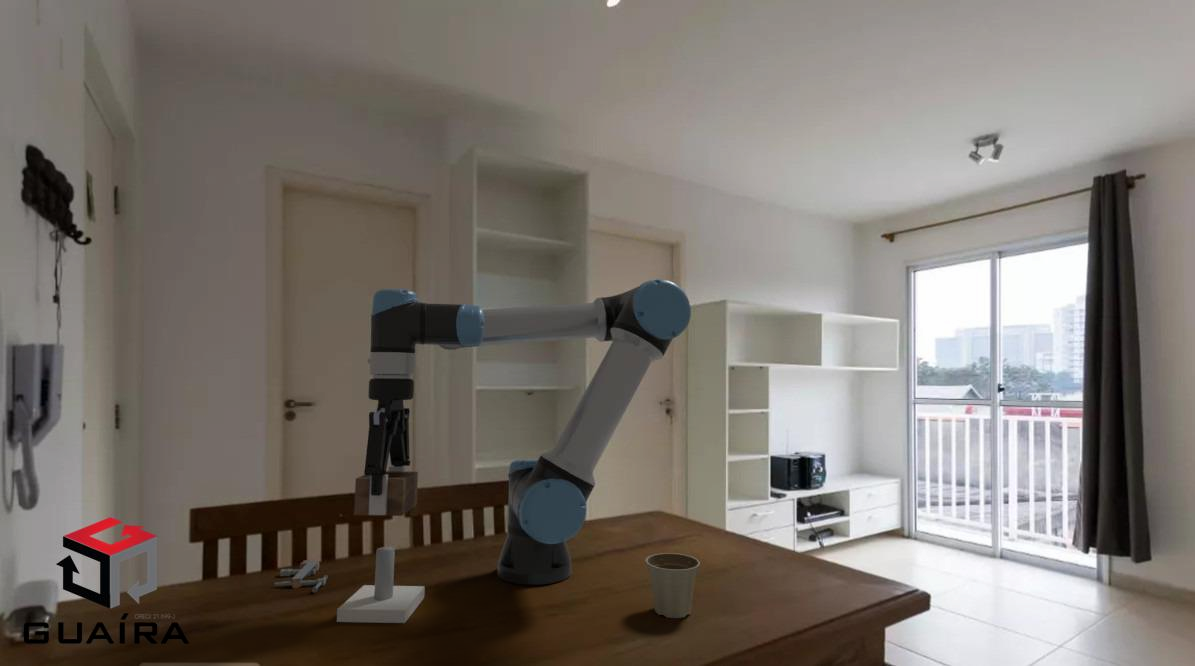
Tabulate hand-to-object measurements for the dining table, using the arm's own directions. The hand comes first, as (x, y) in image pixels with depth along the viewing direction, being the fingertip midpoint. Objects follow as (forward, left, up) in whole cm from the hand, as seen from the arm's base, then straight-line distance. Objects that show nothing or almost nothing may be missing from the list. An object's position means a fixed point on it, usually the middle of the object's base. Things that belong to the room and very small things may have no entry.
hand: (386, 508), depth 101 cm
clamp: (+20, -13, -18) cm, 30 cm away
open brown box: (0, 0, 0) cm, 0 cm away
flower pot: (-50, -1, -17) cm, 53 cm away
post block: (0, 0, -17) cm, 17 cm away
